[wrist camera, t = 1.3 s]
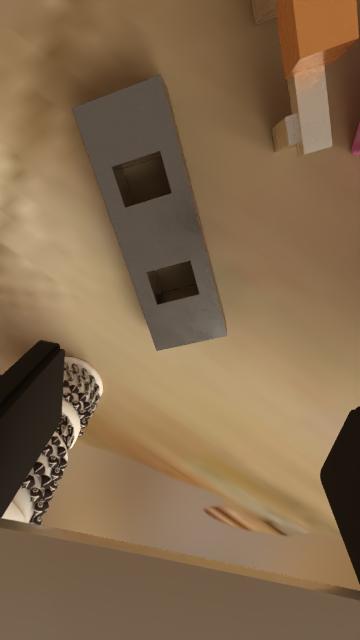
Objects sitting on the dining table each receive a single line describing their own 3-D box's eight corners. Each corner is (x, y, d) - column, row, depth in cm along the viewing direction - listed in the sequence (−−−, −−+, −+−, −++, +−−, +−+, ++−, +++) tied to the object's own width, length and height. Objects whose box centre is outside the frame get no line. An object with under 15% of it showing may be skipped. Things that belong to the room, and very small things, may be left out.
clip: (286, -36, 26) (343, -198, 15) (309, 153, 31) (365, 136, 20) (246, -19, 26) (272, -163, 15) (275, 163, 31) (311, 152, 20)
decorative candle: (25, 372, 44) (-181, 582, 21) (76, 342, 41) (-92, 543, 18) (67, 420, 46) (-73, 654, 23) (119, 394, 44) (18, 628, 21)
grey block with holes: (166, 87, 30) (160, 74, 26) (225, 321, 38) (227, 335, 34) (88, 117, 31) (71, 108, 28) (161, 335, 40) (156, 350, 36)
